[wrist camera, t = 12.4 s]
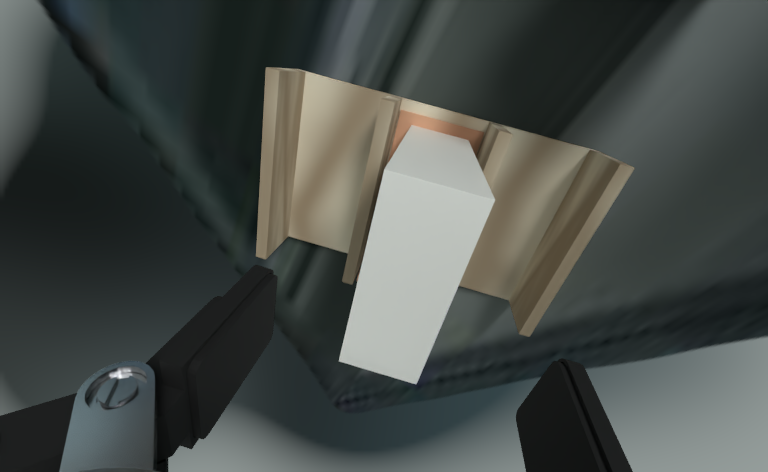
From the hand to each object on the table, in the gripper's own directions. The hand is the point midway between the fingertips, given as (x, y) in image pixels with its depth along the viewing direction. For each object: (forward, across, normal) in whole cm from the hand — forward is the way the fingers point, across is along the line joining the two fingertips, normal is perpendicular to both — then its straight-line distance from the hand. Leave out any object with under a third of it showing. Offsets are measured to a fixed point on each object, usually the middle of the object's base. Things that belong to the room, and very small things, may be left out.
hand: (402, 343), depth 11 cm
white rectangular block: (+15, 0, +1) cm, 15 cm away
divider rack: (+16, 0, +1) cm, 16 cm away
